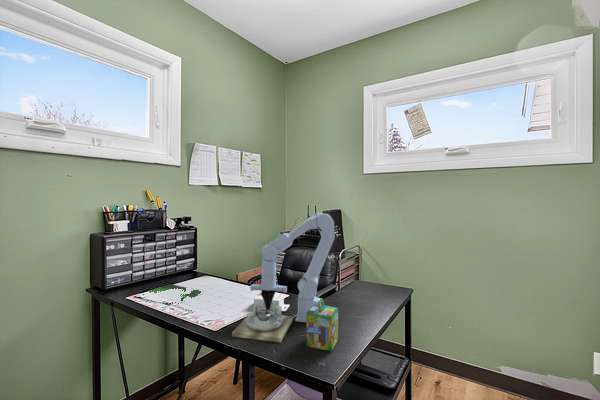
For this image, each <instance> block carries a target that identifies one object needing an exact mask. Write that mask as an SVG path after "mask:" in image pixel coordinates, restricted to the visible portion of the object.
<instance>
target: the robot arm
mask: <svg viewBox="0 0 600 400" xmlns="http://www.w3.org/2000/svg"><path fill="white" fill-rule="evenodd" d="M334 226H335V221H334V219H333V218H332V216H331V215H330V214H329V213H323V212H321V211H320V212H319V211H318V212H316V213H315V214H313V215H311V216H309V217H308V218H307V219H305V220H304V221H303V222H302V223H300V224H299V225H298V226H296V227H295V228H294V229H292V230H291V231H290V232H289V233H287V232H286V233H285V232H283V233H279V234H278V236H277V237H276V238H275V239H274V240H272V241H269V242H268V243H269V244H265V245H264V246H263V247H262V248H261V251H260V252H261V256H262V258H261V283H257V284H255V283H254V284H250V285H249V287H250V289H249V290H250V291H261V292H260V293H261V296H262V297H263V300H264V302H265V306H266V310H265V311H271V310H270V308H271V303H272V299H273V297H274V294H276V293H277V292H280V293H287V291H288V285H287V286H286V285H280V284H276V283H277V263H276V260H277V257H278V254H279V255H280V254H281V253H282V252H284V251H285V250H286V249H288V248H290V247H291V246H292V245H293V242H294V240H295V239H297V238H299V237H300V236H301V235H303V234H305V233H306V232H307V231H309V230H318V232H319V234H320V236H321V237H320V240H319V243H318V245H317V247H316V249H315V252H314V254H313V257H312V259H311V261H310V263H309V265H308V268H307V271H306V272H305V273H304V274H303V276H302V277H301V278H300V279H299V281H298V282H297V289H298V291H299V292H298V295H297V315H296V317H295V318H294V319H295V320H294V321H295V322H300V323H306V312H307V311H308V310H309V309H310V308H311V307H312V306H313V305H314V304H317V305H318V301H319V300H320V299H321V298H322V297H321V298H320V297H317V293H318V290H317V289H318V285H319V276H320V274H321V272H322V269H323V267H324V264H325V262H326V260H327V257H328V255H329V254H330V250H331V248H332V245H333V243H334V241H335V238H336V236H335V227H334ZM320 305H322V303H320Z"/></svg>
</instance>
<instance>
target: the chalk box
mask: <svg viewBox="0 0 600 400" xmlns="http://www.w3.org/2000/svg"><path fill="white" fill-rule="evenodd" d="M320 303H321V305H320ZM305 324H306V325H305V326H306V327H305V333H306V334H305V335H306V337H305V339H306V340H305V347H307V348H313V349H318V350H322V351H326V352H330V353H332V351H333V350H334V348H335V346H336V345H337V342H338V341H339V308H338V307H334V306H330V305H325V301H324V299H323V298H322V297H321V299H320V300H319V301H318V305H317V304H314V305H313V306H312V307H311V308H310V309H309V310H308V311H307V312H306V322H305Z"/></svg>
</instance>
